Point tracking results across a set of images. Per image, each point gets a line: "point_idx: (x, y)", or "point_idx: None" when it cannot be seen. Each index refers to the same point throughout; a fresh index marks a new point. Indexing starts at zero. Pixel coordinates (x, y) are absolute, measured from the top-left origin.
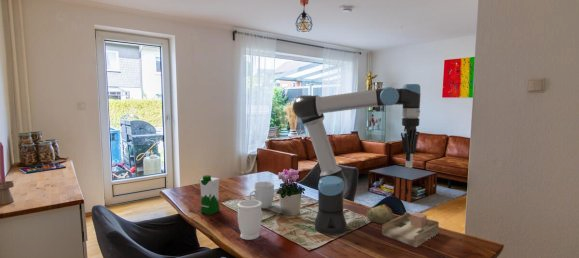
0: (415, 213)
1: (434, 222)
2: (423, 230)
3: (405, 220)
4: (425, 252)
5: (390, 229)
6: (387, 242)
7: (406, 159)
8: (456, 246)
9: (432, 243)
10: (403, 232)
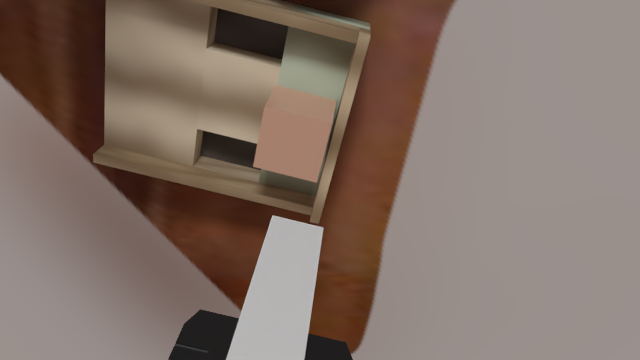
0: (301, 125)
1: (314, 204)
2: None
3: (327, 42)
4: (105, 177)
5: (137, 7)
6: (61, 19)
7: (183, 337)
8: (242, 258)
9: None
10: (153, 79)
